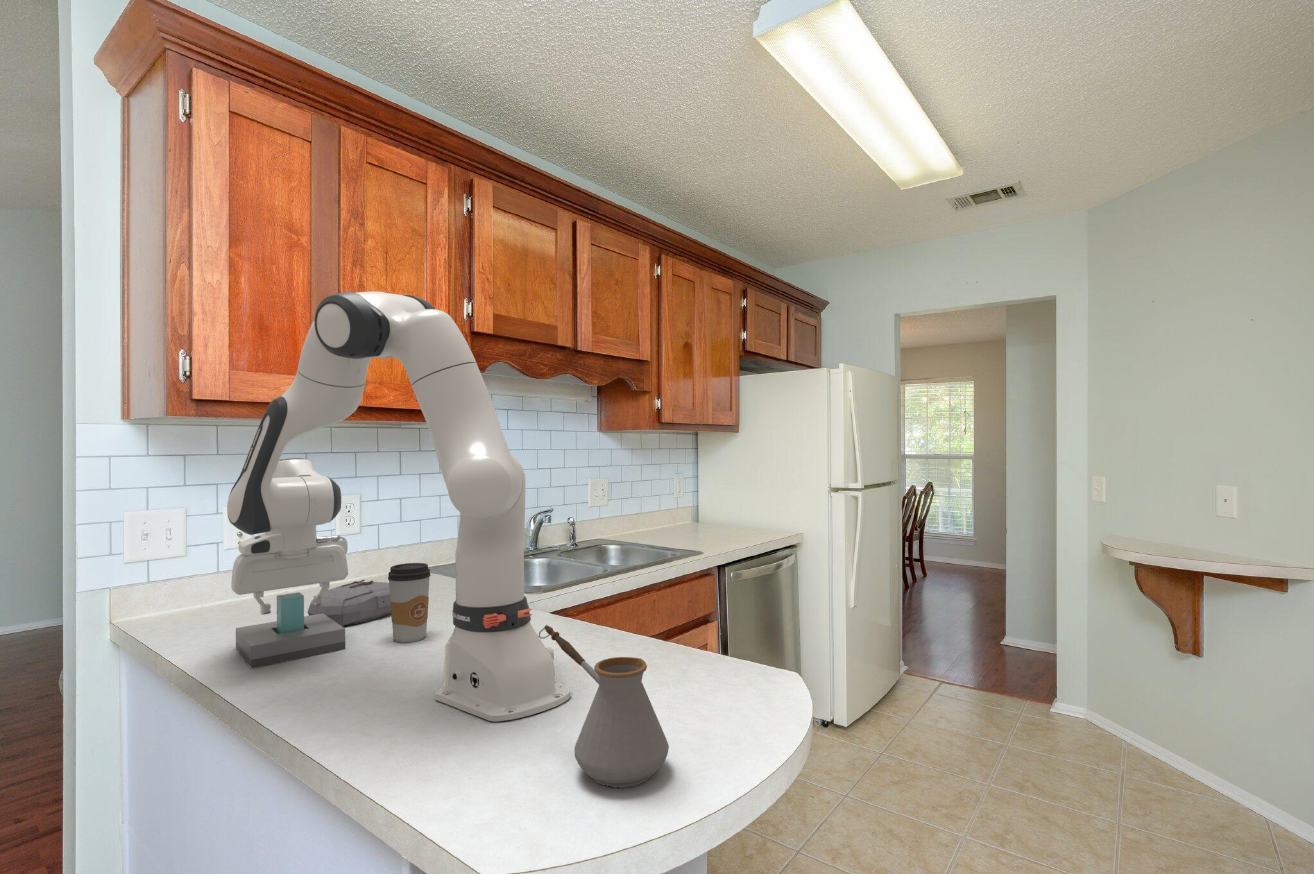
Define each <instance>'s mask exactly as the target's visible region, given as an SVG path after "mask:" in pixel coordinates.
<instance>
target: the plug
mask: <svg viewBox="0 0 1314 874" xmlns="http://www.w3.org/2000/svg"><path fill="white" fill-rule="evenodd" d="M304 617H305V596H304V594H303V593H301V592H299V591H298V592H291V593H285V594H278V595H276V621H277V634H281V633H287V632H292V631H298V630H303V629H304Z"/></svg>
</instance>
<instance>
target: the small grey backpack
mask: <svg viewBox="0 0 1314 874" xmlns="http://www.w3.org/2000/svg"><path fill="white" fill-rule="evenodd" d="M314 601H315V600H314V598H313V599H312V600H311V602H310V604H309V606H308V609H307V614H308V615H307V616H311V615H316V614H322V613H323V614H325V615H326V616H328V617H329V618H330V619H332V620H333V621H335V622H336V623H338V624H339V625H341V626H342V627H345V626H353V625H359V624H363V623H367V622H370V621H374V620H377V619H380V618H384V617H386V616H389V615H391V606H390V588H389V582H382V581H374V580H370V581H366V580H365V579H362V580H359V581H356V580H355V581H353V582H350V583H349V582H348V583H347V584H342V585H340V586H337V587H333V588H329V589H328V591H327V592H326V594H325V596H324V604H323V605H318V606H315V605H314Z"/></svg>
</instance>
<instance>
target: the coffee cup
mask: <svg viewBox="0 0 1314 874" xmlns="http://www.w3.org/2000/svg"><path fill="white" fill-rule="evenodd" d="M430 578H431V569H430V568H429V564H428V563H424V562H407V563H399V564H396V565H392V566H390V569H389V572H388V577H387V580H388V583H389V588H390V606H391V614H390V616H391V625H392V636H393V639H394V641H395V642H397V643H403V644H405V643H408V644H409V643H414V642H415V643H416V642H419V641H421V640H424V639H425V636H426V635H427V629H428V627H427V626H428V616H429V602H430V597H429V596H430V595H429V593H430Z"/></svg>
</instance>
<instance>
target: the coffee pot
mask: <svg viewBox="0 0 1314 874" xmlns="http://www.w3.org/2000/svg"><path fill="white" fill-rule="evenodd" d="M544 630H545V632H546V634H548V635H546V636H544V637H543V636H541V634H542V632H543V631H544ZM538 636H539V638H540V639H543V640H544V639H547V638H548V637H549V636H551V638H550V639H551V640H552V641H555V642H556V643H557V645H558V646H559V647H560V650H562V651H563V652H564V653H565V654H566V655H567V656H569V658H571V659H572V660H573V661H574V662H575V663H576V664H578V665H579V666H580V667H582V668H583V670H585V671H586V673H587V674H588V675H589V676H590V677H591V678H592V679H593V680H594V681H595V682H596V683H597V685H598V687H597V690H596V693H595V694H594V698H593V700H592V702H591V705H590V707H589V710H588V713H587V715H586V717H585V720H584V722H583V725H582V728H581V729H580V732H579V735H578V738H577V740H576V743H575V745H574V750H573V751H574V758H575V760H576V761H577V764H578V765H579V767H580V769H581V770H582V771H583V772H584V773H585V774H586V775H588V776H589V777H590V778H591V779H592V778H593V779H594V780H595V781H594V780H593V779H592V780H593V781H594V782H596V781H597V782H596V783H597V784H599V783H600V784H599V785H601V784H602V785H601V786H604V785H607V786H606V787H608V786H611V787H610V788H617V787H619V789H620V788H621V789H622V788H631V787H634V786H638V785H641V784H643V783H645V782H647V781H648V780H650V779H651V778H652V777H653V775H654V774H655V773H656V772H657V771H659V769H660V768H661V767H662V765H663V764H664V763H665V762H666V759H667V756H668V753H669V749H670V746H669V742H668V740H667V739H668V738H666V735H665V733H664V731H663V728H662V725H661V723H660V720H659V718H658V717H657V715H656V711H655V710H654V707H653V705H652V702H651V700H650V698H649V695H648V693H647V690H646V688H645V686H644V684H643V681H642V680H643V676H644V672H646V671H647V668H648V665H647V663H646V661H645V660H644V659H642V658H640V657H639V658H638V657H629V656H617V657H616V656H615V657H609V658H605V659H602V660H600V661H598V662H595V665H594V666H593V667H592V666H591V665H590V664H589V663H588V662H587V661H586V660H585V659H584V657H583V656H582V655H581V654H580V653H579V652H578V651H577V649H575V647H573V645H572V644H571V643H570V642H569V641H568V640H566V639H564V638H563V637H561V634H560V632H559V631H555V630H554V629H553V627H551V626H549V625H547V624H546V625H544V626H543V628H542V629H540V630H539V632H538ZM652 774H653V775H652ZM640 783H641V784H640Z"/></svg>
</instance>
